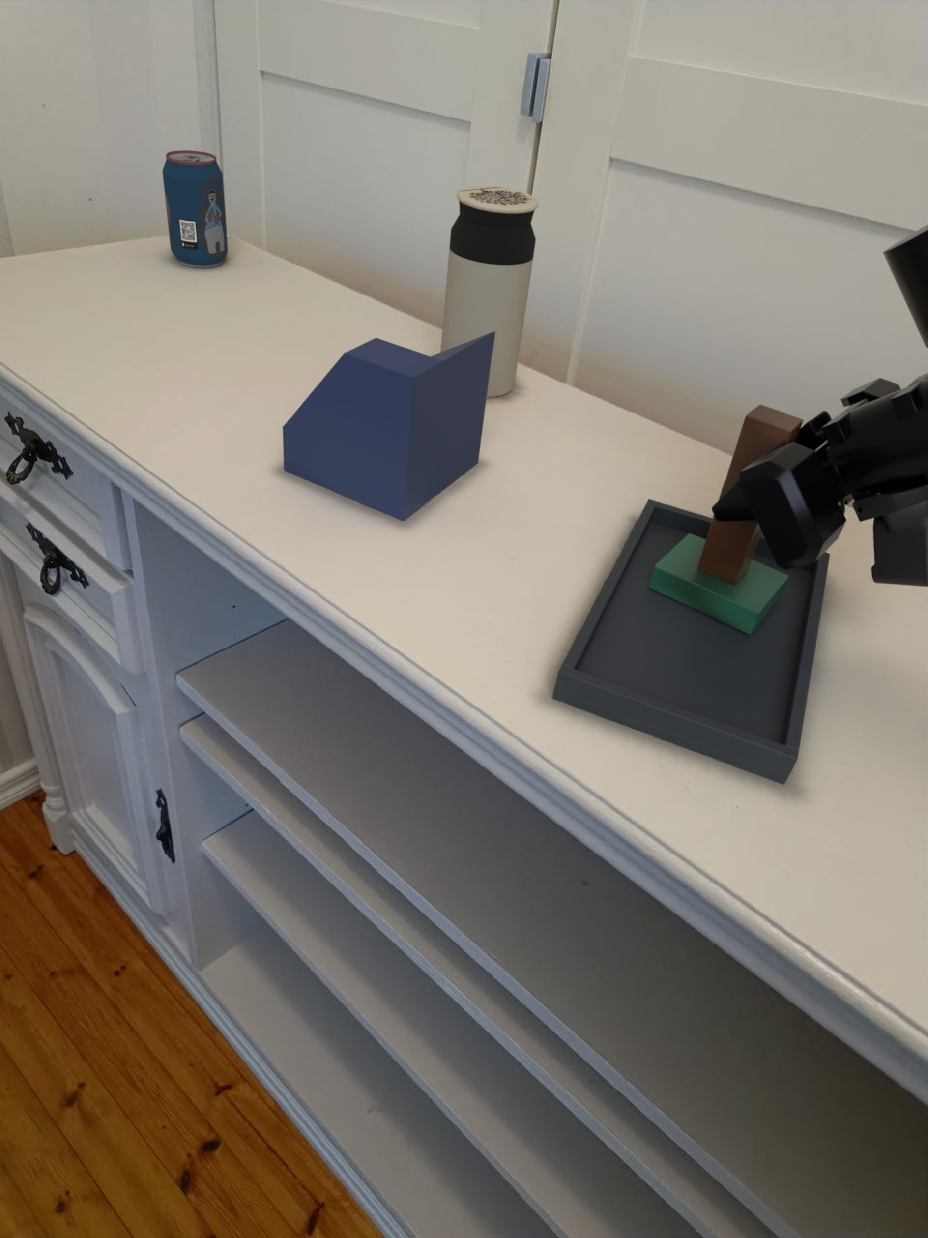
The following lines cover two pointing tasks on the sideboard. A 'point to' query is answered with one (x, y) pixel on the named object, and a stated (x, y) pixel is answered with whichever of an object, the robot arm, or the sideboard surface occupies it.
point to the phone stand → (392, 424)
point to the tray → (697, 656)
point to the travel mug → (490, 276)
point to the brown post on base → (730, 543)
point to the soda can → (195, 208)
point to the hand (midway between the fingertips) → (724, 506)
